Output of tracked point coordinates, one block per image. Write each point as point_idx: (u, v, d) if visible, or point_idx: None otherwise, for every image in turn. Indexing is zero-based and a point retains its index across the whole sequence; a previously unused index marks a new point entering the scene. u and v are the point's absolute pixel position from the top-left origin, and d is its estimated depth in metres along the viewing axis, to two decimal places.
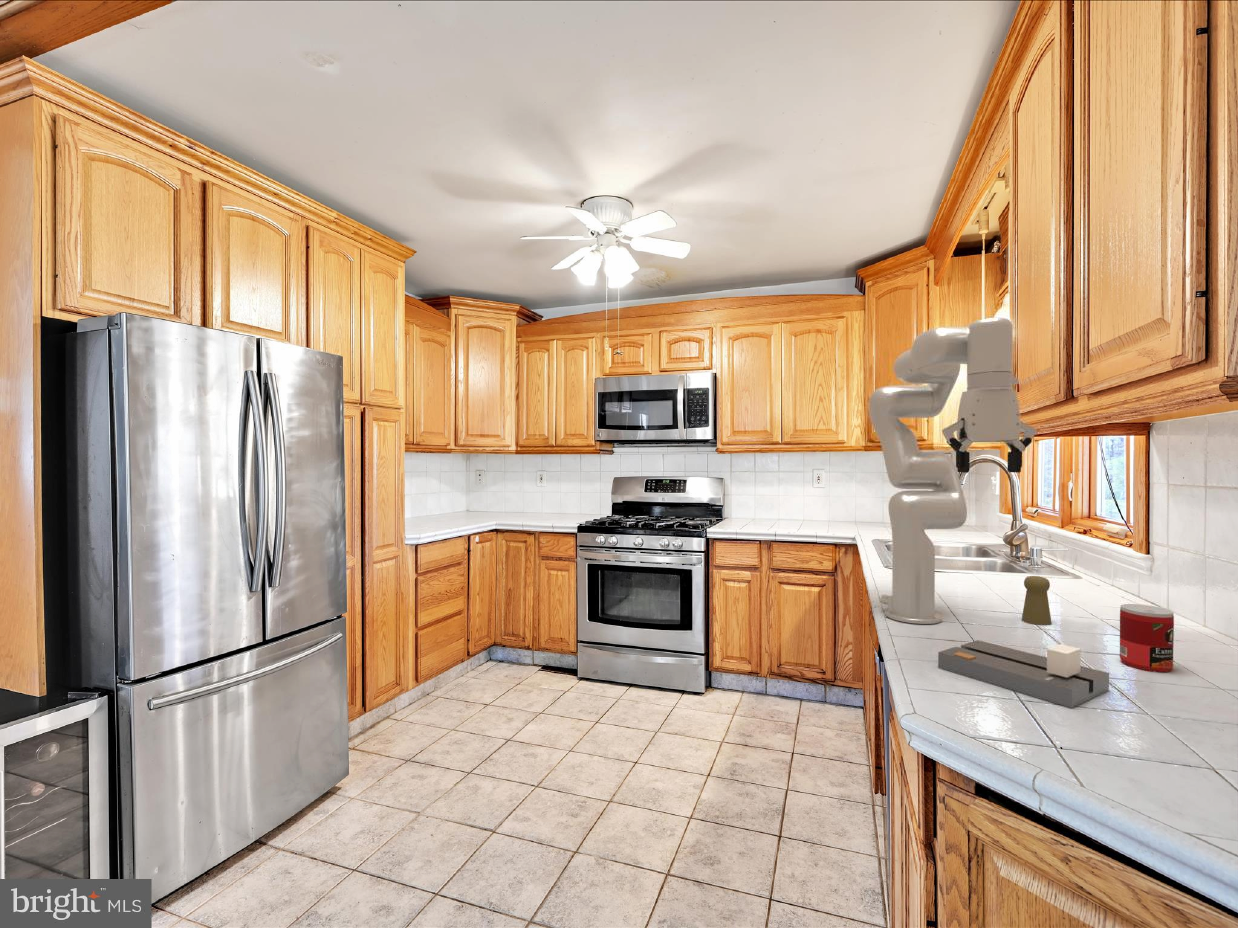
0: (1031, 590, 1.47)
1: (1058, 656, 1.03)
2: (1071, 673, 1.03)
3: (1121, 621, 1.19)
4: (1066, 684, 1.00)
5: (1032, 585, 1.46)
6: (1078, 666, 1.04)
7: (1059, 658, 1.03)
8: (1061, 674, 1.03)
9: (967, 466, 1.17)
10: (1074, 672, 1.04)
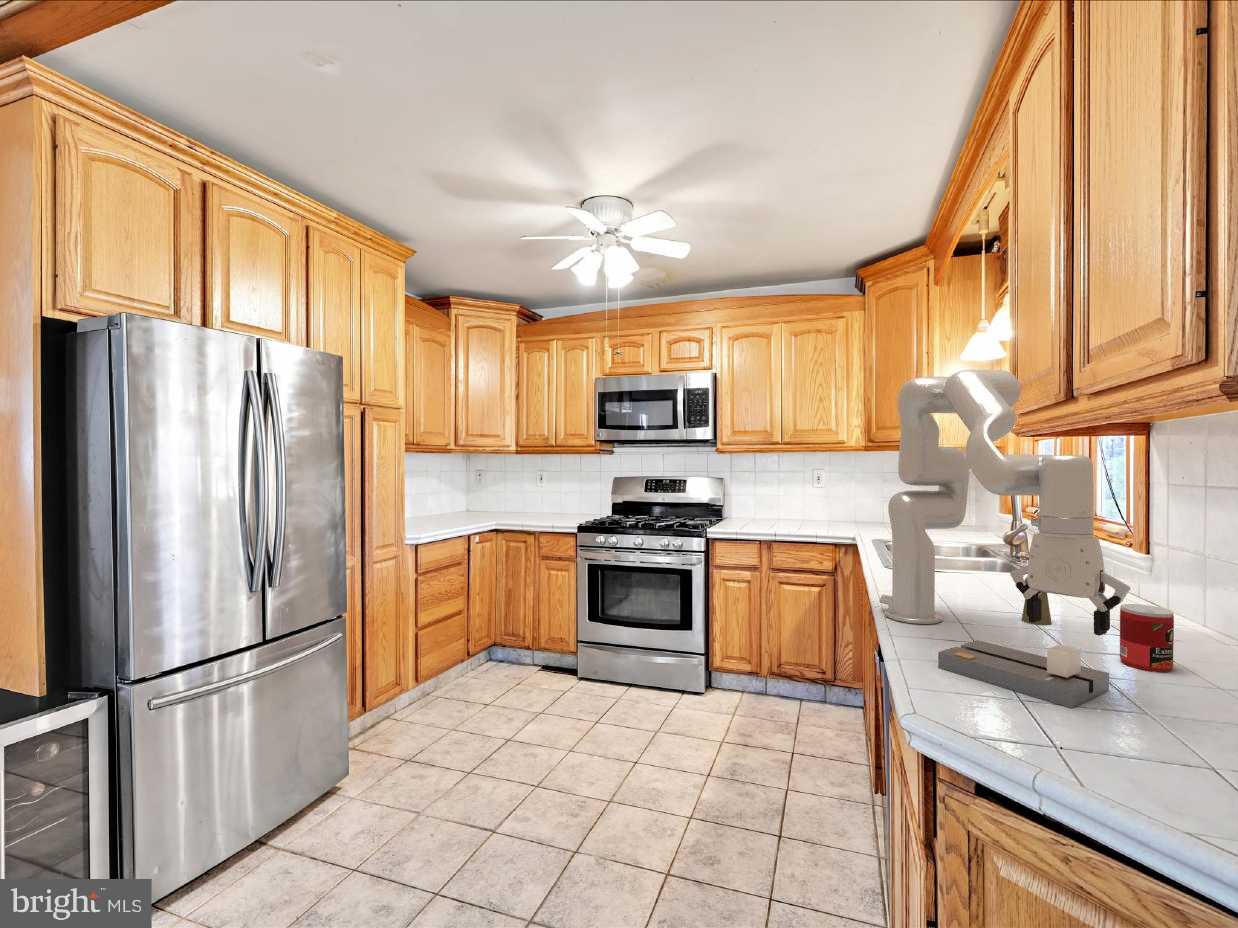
0: None
1: (1058, 656, 1.03)
2: (1071, 673, 1.03)
3: (1121, 621, 1.19)
4: (1066, 684, 1.00)
5: None
6: (1078, 666, 1.04)
7: (1059, 658, 1.03)
8: (1061, 674, 1.03)
9: None
10: (1074, 672, 1.04)
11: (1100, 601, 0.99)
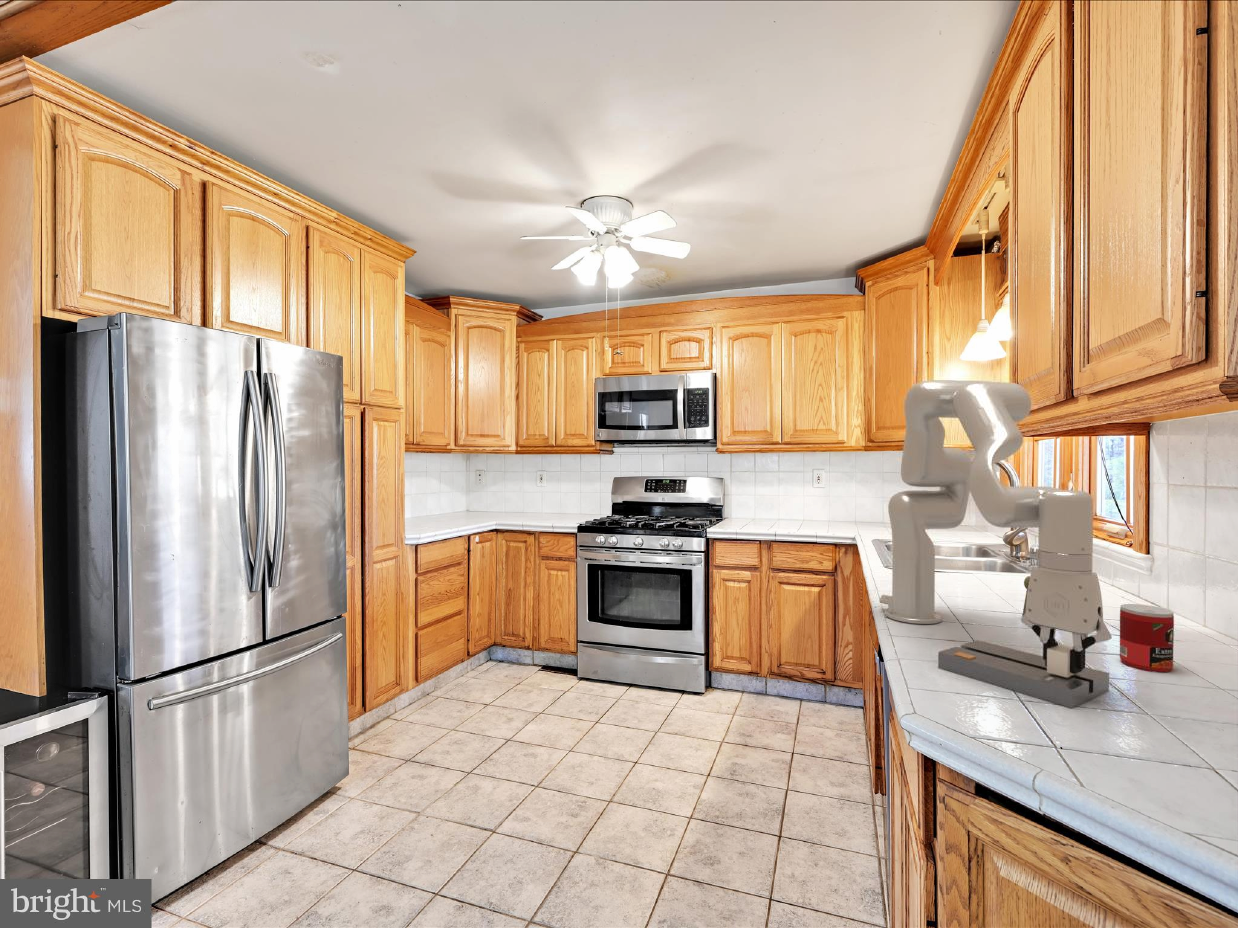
0: None
1: (1058, 656, 1.03)
2: (1071, 673, 1.03)
3: (1121, 621, 1.19)
4: (1066, 684, 1.00)
5: None
6: None
7: (1059, 658, 1.03)
8: (1061, 674, 1.03)
9: None
10: None
11: (1080, 642, 1.01)
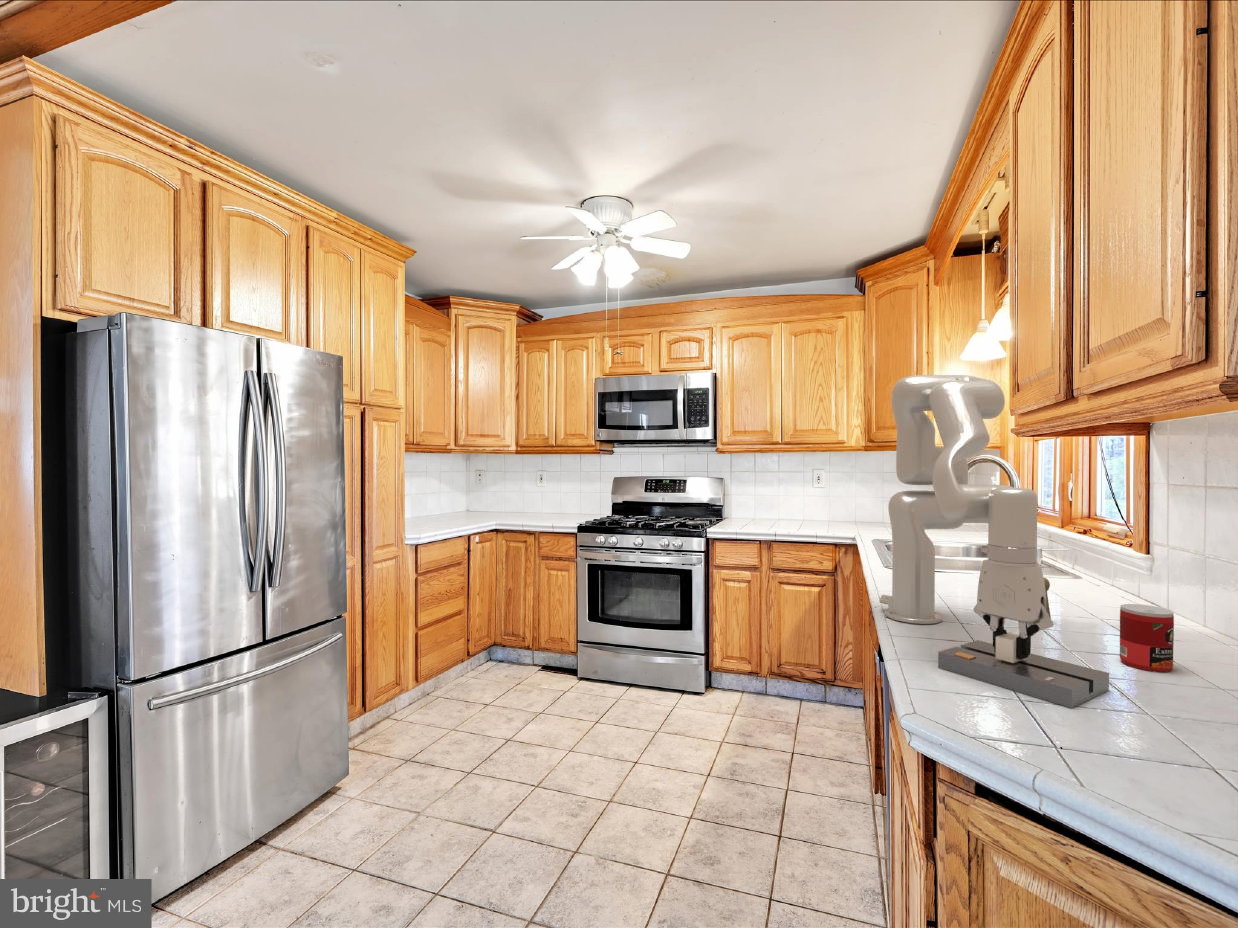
0: None
1: (1005, 643, 1.10)
2: (1017, 659, 1.10)
3: (1121, 621, 1.19)
4: (1066, 684, 1.00)
5: None
6: None
7: (1006, 645, 1.10)
8: (1008, 660, 1.10)
9: None
10: None
11: (1025, 630, 1.09)
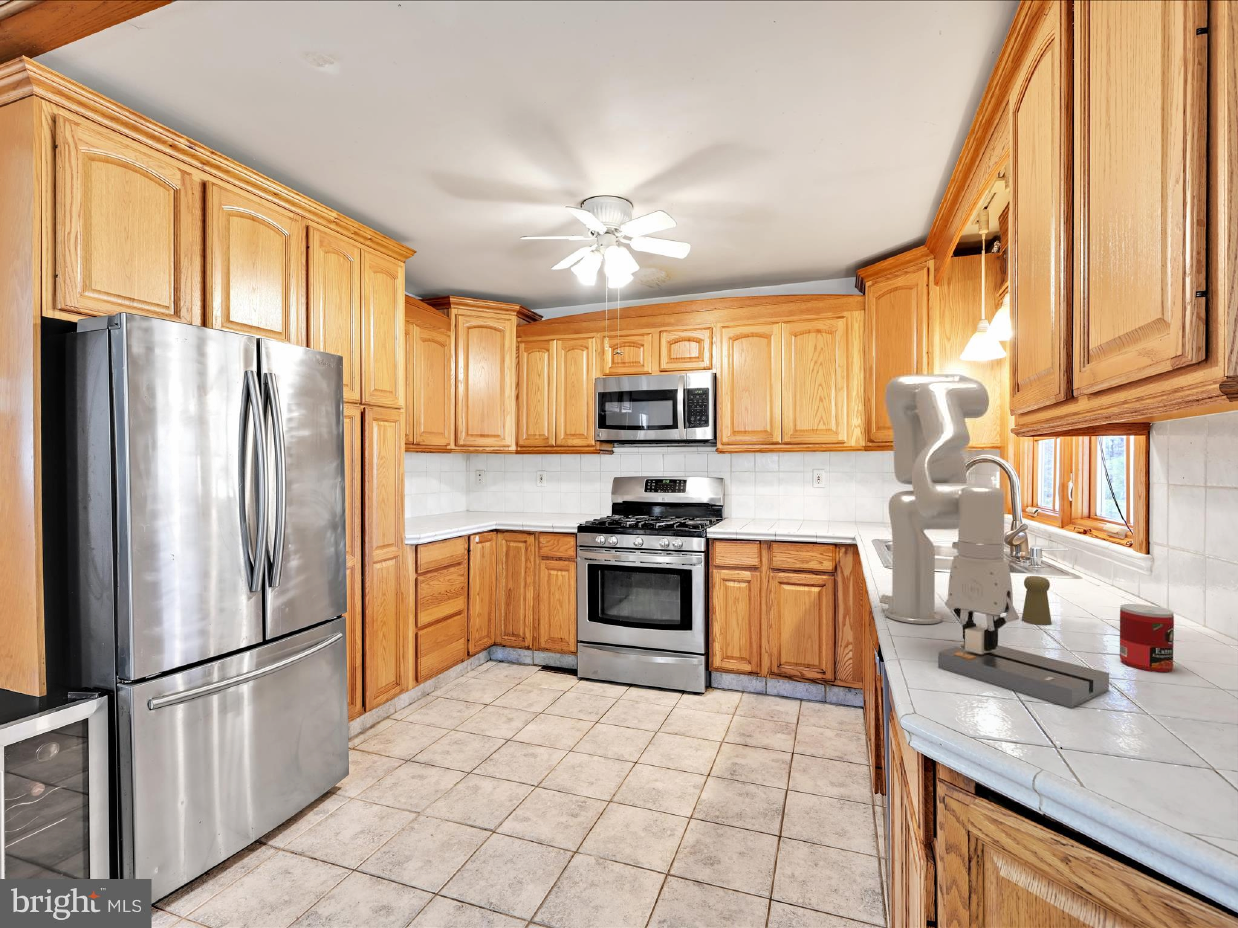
0: (1031, 590, 1.47)
1: (974, 635, 1.15)
2: None
3: (1121, 621, 1.19)
4: (1066, 684, 1.00)
5: (1032, 585, 1.46)
6: None
7: (975, 637, 1.15)
8: (976, 651, 1.15)
9: None
10: None
11: (992, 623, 1.13)
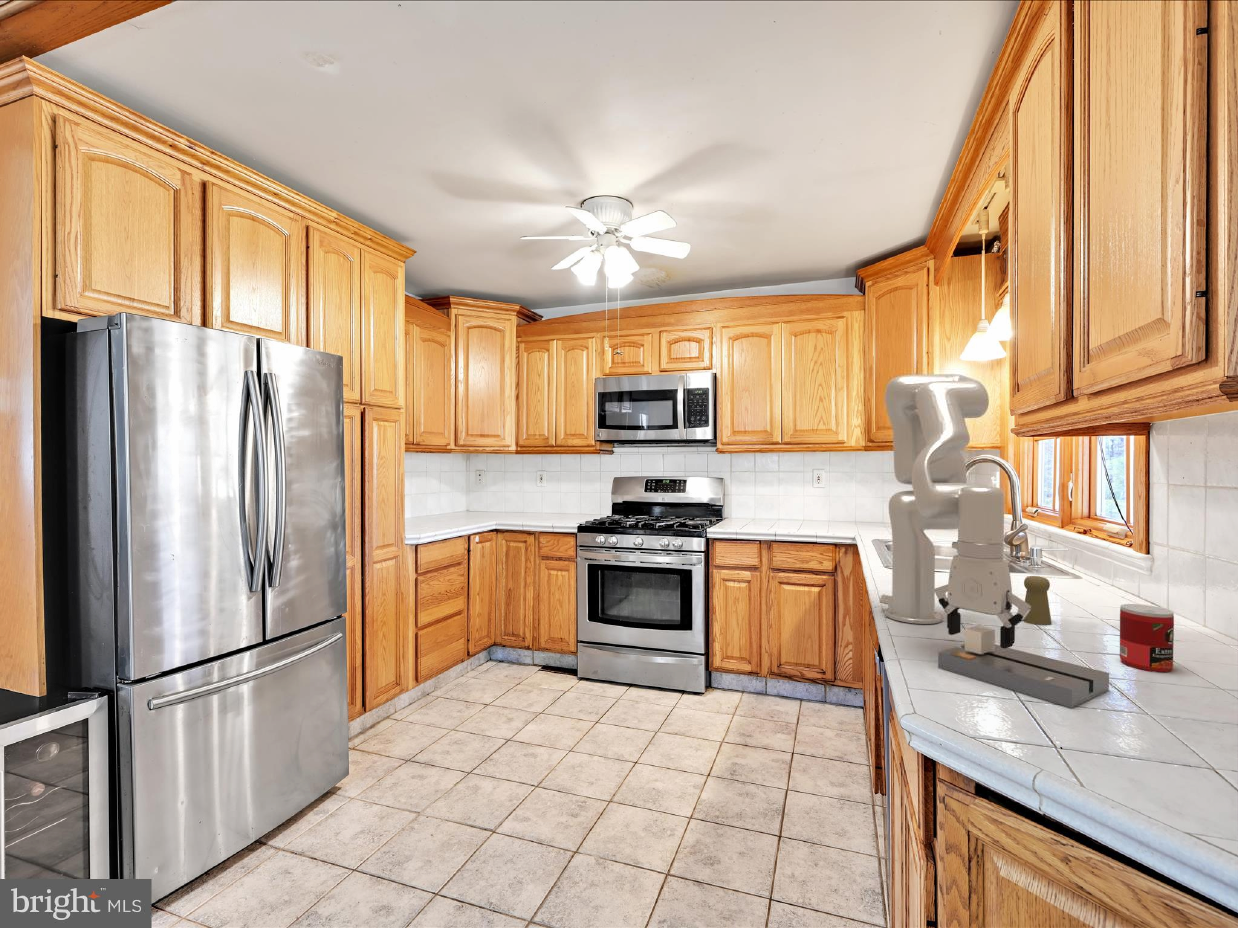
0: (1031, 590, 1.47)
1: (974, 635, 1.15)
2: (985, 650, 1.15)
3: (1121, 621, 1.19)
4: (1066, 684, 1.00)
5: (1032, 585, 1.46)
6: (992, 644, 1.16)
7: (975, 637, 1.15)
8: (976, 651, 1.15)
9: None
10: (988, 650, 1.16)
11: (1006, 618, 1.11)
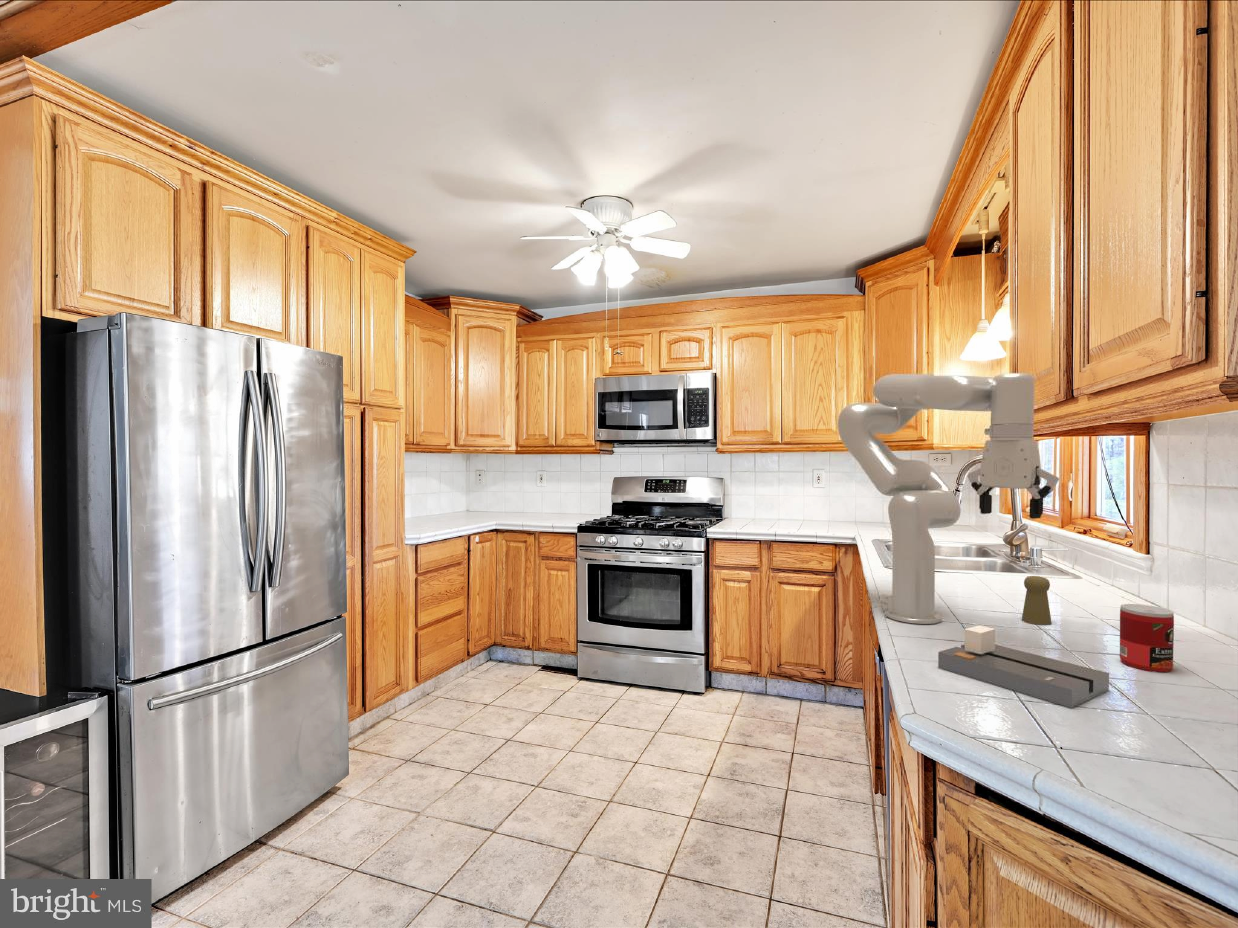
0: (1031, 590, 1.47)
1: (974, 635, 1.15)
2: (985, 650, 1.15)
3: (1121, 621, 1.19)
4: (1066, 684, 1.00)
5: (1032, 585, 1.46)
6: (992, 644, 1.16)
7: (975, 637, 1.15)
8: (976, 651, 1.15)
9: None
10: (988, 650, 1.16)
11: (1035, 490, 1.22)
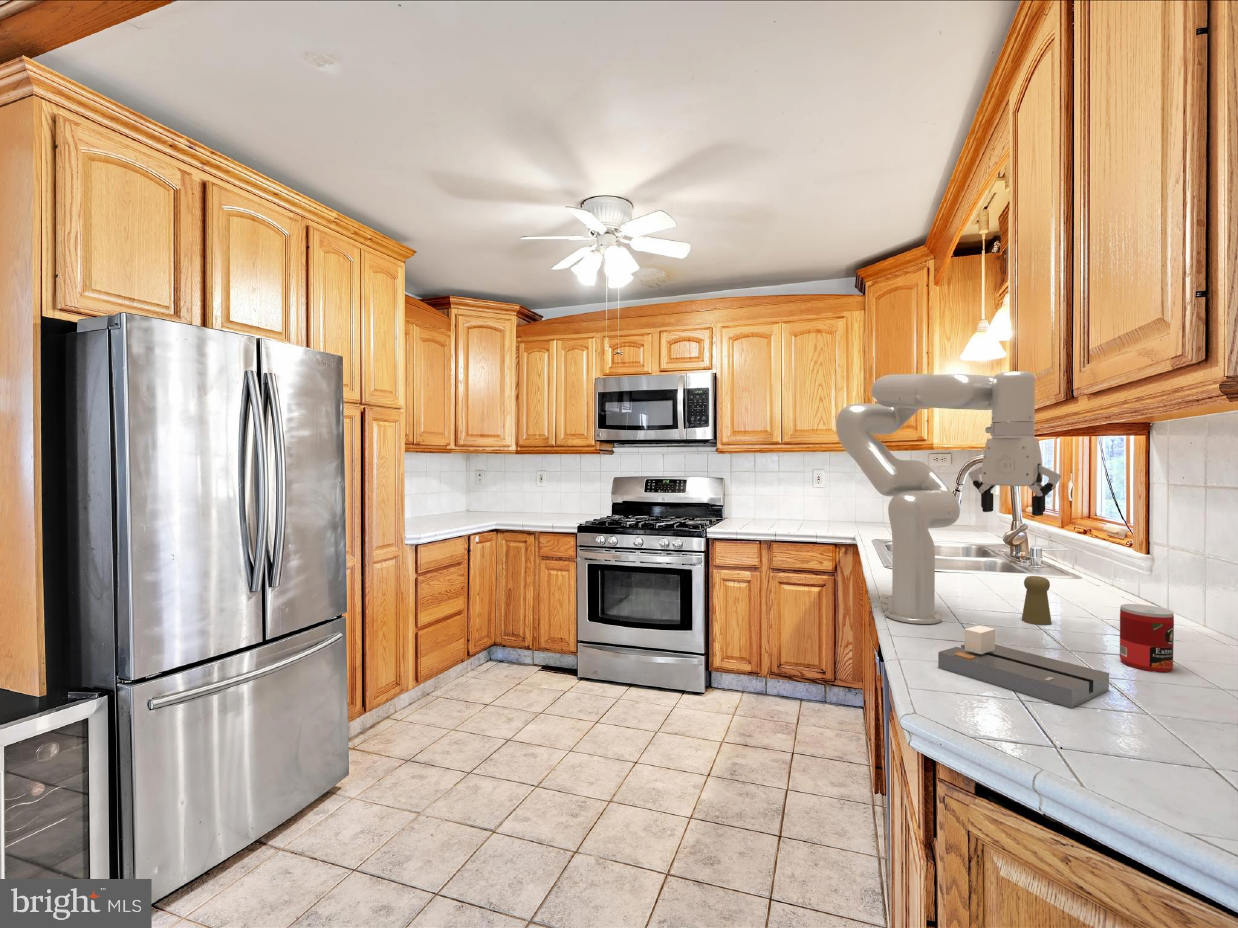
0: (1031, 590, 1.47)
1: (974, 635, 1.15)
2: (985, 650, 1.15)
3: (1121, 621, 1.19)
4: (1066, 684, 1.00)
5: (1032, 585, 1.46)
6: (992, 644, 1.16)
7: (975, 637, 1.15)
8: (976, 651, 1.15)
9: None
10: (988, 650, 1.16)
11: (1037, 488, 1.22)
